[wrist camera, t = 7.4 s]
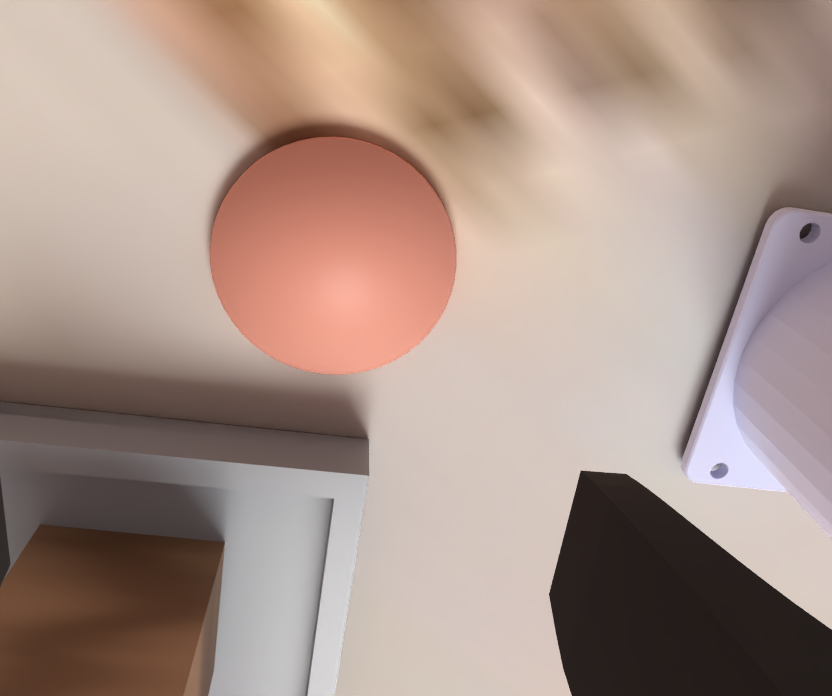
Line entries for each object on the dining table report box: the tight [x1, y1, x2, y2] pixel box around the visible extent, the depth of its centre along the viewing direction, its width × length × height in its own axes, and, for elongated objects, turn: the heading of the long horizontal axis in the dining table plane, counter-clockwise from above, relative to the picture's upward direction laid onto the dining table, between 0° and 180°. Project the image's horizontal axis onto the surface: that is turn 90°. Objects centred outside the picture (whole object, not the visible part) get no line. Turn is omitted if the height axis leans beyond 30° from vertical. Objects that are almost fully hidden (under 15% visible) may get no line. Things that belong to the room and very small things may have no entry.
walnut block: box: [0, 524, 225, 696], centre depth 18 cm, size 5×5×6 cm
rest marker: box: [210, 136, 456, 374], centre depth 18 cm, size 6×6×1 cm
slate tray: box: [0, 401, 369, 696], centre depth 21 cm, size 12×12×2 cm
